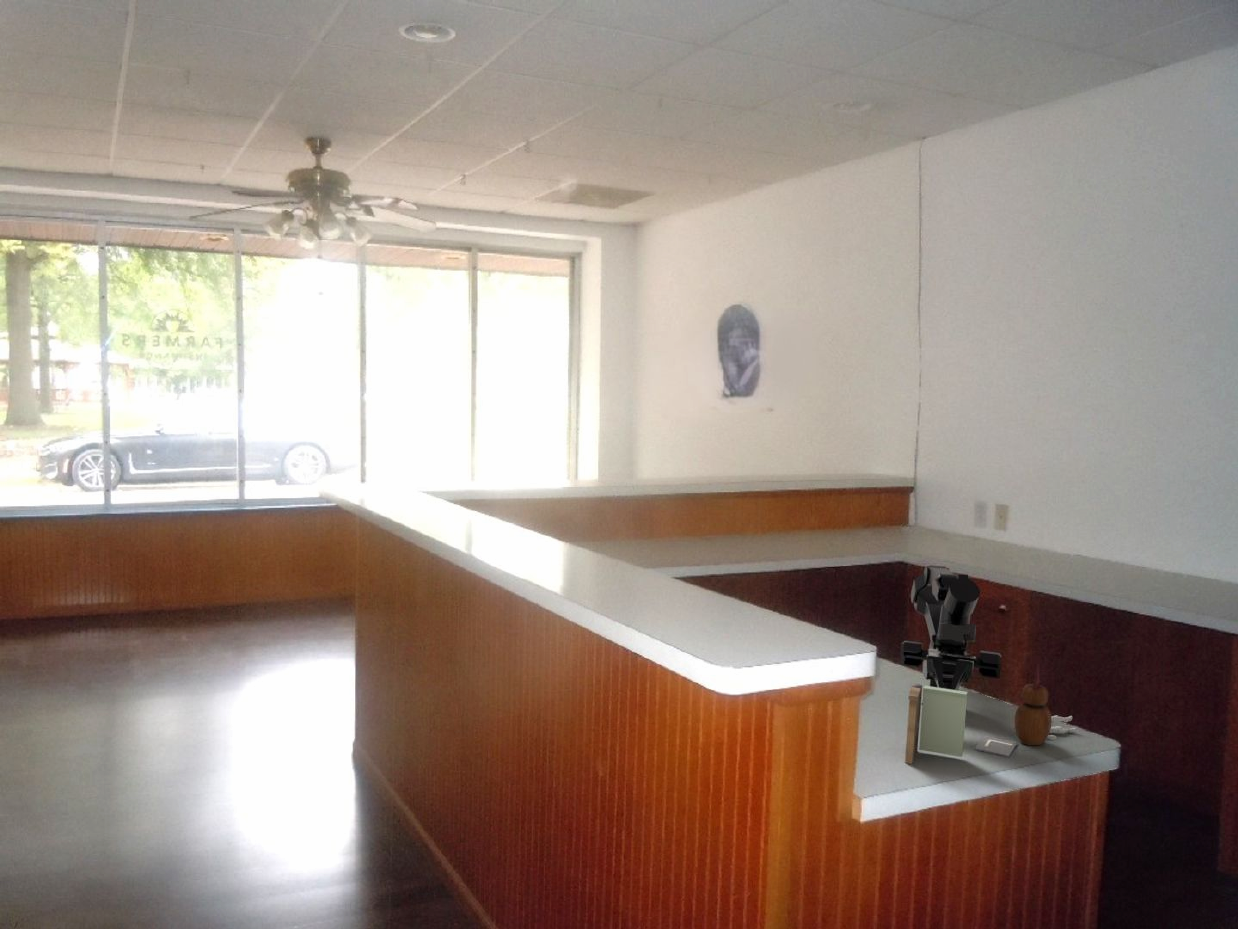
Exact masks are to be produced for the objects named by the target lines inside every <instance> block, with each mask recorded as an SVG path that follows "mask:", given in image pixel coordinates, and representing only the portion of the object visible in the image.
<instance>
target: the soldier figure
mask: <svg viewBox="0 0 1238 929" xmlns="http://www.w3.org/2000/svg"><path fill="white" fill-rule="evenodd" d="M1051 719H1052V724H1054V723H1056V722H1064V723H1067V722H1071V721H1072V720H1073V716H1072V715H1070V716H1067V717H1066V716H1065V717H1063V716H1059V715H1058V714H1057V715H1051ZM1052 724H1051V729H1050V732H1049V734H1050V735H1049V734H1048V736H1047V738H1046V740H1049V739H1050V740H1057V736H1056V735H1054V734H1057V733H1059V734H1064V733H1068V734H1069V733H1076V731H1077V728H1076V727H1072V728H1070V727H1069V728H1064V727H1062V726H1060V725H1057V726H1052Z"/></svg>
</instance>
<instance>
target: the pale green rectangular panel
mask: <svg viewBox="0 0 1238 929" xmlns="http://www.w3.org/2000/svg"><path fill="white" fill-rule="evenodd" d="M967 699H968V691H962V690H959V689H958V690H951V689H944V688H937V687H931V686H930V685H923V687H922V702H921V706H922V707H921V716H920V729H919V743H918V750H919V751H924V752H932V753H937V754H942V755H948V756H955V757H960V758H962V757H963V751H964V739H965V737H964V736H965V727H966V726H965V725H966V714H967V701H968V700H967Z"/></svg>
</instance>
